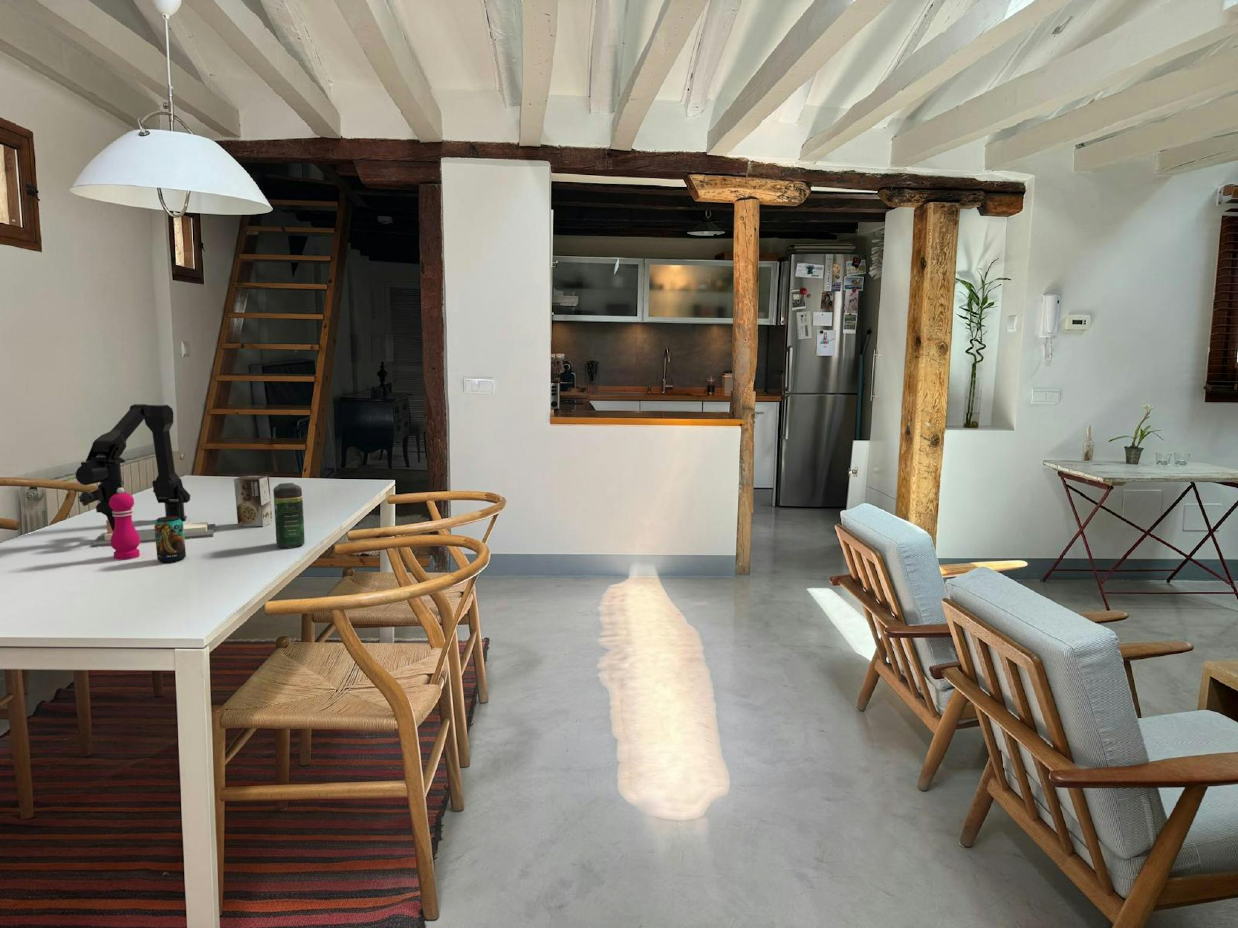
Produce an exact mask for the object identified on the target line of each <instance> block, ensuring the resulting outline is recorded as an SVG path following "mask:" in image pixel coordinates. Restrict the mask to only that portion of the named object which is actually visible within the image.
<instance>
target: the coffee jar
mask: <svg viewBox="0 0 1238 928" xmlns="http://www.w3.org/2000/svg"><path fill="white" fill-rule="evenodd" d="M302 491H303V490H302V487H301V486H299V485H298V484H296V483H294V482H284V483H279V484H277V485H275V486H274V488H273V490H272V492H273V504H274V505H273V506H274V523H275V524H274V525H275V526H274V527H275V538H276V539H275V540H276V545H277V546H278V548H288V549H291V548H296V547H299V546H300V545H301V546H303V545H304V544H305V539H306V538H305V525H304V524H305V522H304V521H305V520H304V501H303V492H302Z"/></svg>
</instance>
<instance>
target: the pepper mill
mask: <svg viewBox="0 0 1238 928" xmlns="http://www.w3.org/2000/svg"><path fill="white" fill-rule="evenodd" d="M117 492H118V493H117V494H114V495H113V496H112V497H111V498H110V500H109V505H110V507H111V508H112V509H113V510H114V511H112V513H113V515H112V516H114V518H115V528H114V531H113V534H112V537H111V546H110V547H111V548H112V549H113V550H115V551H114V552H113V559H114V560H118V561H122V560H123V561H124V560H131V559H132V558H133V559H135V558H138V557H140V556H141V555H140V554H141V553H140V549H139V548H138V547H139V546H140V544H141V543H140V537H139V534H138V533H137V531H136V530H137V529H136V527H135V526H134V522H133V516H132V515H134V509H133V507H134V505H135V500H134V497H133V496H132V495H131V493H128V492H126V493H124V492H125V489H124V487H123V488H118V489H117ZM133 559H132V560H133Z"/></svg>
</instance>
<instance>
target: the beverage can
mask: <svg viewBox="0 0 1238 928" xmlns="http://www.w3.org/2000/svg"><path fill="white" fill-rule="evenodd" d="M155 520H156V522H155V524H154V526H153V527H154V528H153V529H155V539H156V542H155V547H156V548H155V549H156V559H157V561H159V562H160V563H162V564H171V563H177V562H181V561H183V560H185V558H186V557H187V552H186V539H185V538H184V526H183V524H184V522H183V521H181V520H180V517H179V516H167V517H166V516H161V517H158V518H156V519H155Z"/></svg>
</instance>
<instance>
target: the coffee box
mask: <svg viewBox="0 0 1238 928" xmlns="http://www.w3.org/2000/svg"><path fill="white" fill-rule="evenodd" d="M233 482H234V495H235V505H236V506H235V507H236V519H237V527H257V526H263V527H266V526H268V525H271V524H273V515H272V512H273V511H272V500H271V498H272V497H271V488H270V487H271V486H270V476H269V475H242V476H239V477H236V478H234V479H233Z"/></svg>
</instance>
